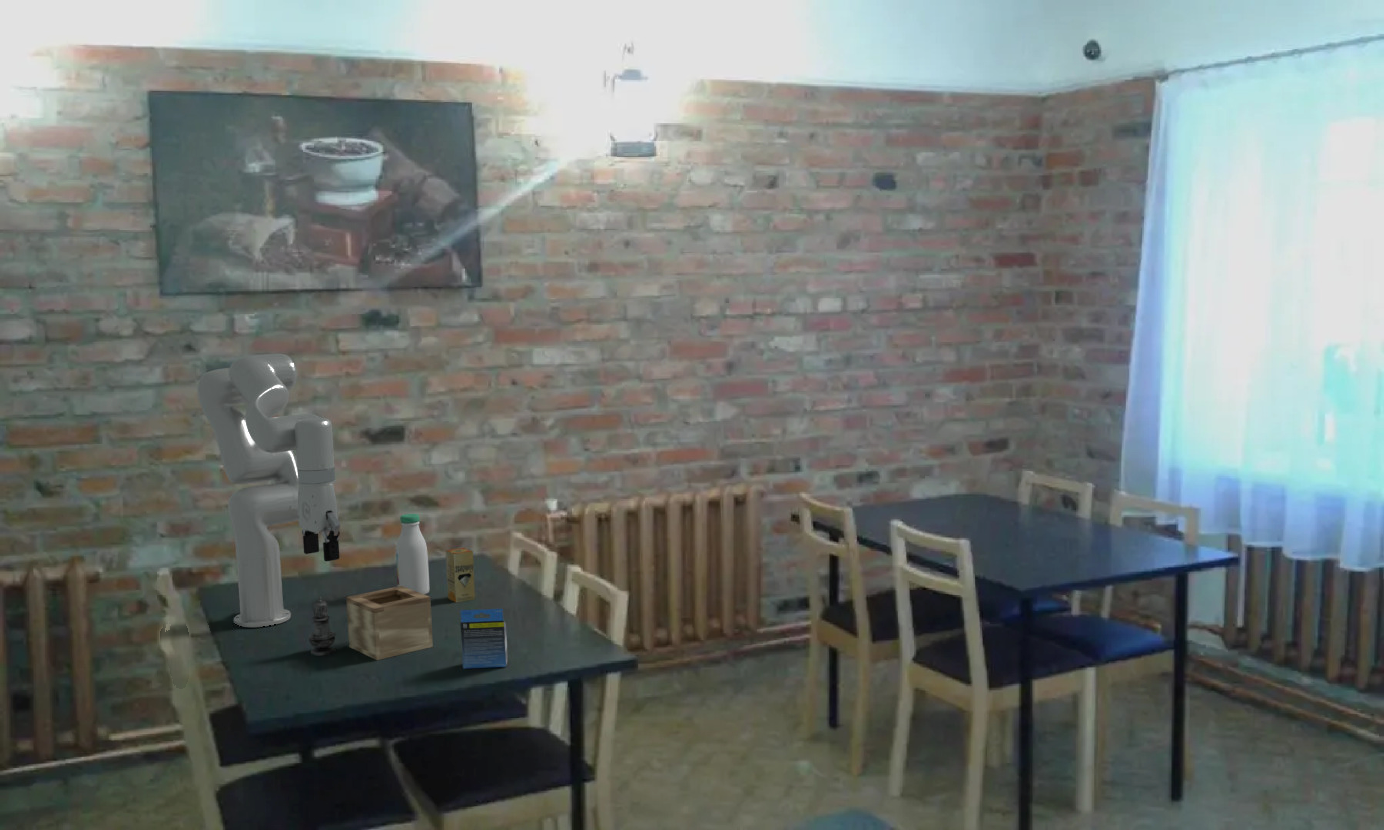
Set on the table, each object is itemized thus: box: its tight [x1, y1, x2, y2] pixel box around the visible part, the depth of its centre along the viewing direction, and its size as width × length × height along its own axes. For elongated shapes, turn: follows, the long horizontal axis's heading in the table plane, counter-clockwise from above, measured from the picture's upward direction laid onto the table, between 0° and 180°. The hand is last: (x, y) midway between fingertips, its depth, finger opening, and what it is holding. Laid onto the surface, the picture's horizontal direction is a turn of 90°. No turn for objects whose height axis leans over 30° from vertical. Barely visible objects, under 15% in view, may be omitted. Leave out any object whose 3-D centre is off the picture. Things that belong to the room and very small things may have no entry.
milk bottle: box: [395, 513, 430, 595], centre depth 310 cm, size 8×8×20 cm
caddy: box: [345, 585, 434, 661], centre depth 266 cm, size 13×13×11 cm
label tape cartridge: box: [459, 607, 508, 670], centre depth 252 cm, size 9×4×12 cm, turn 92°
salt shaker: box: [307, 596, 337, 656], centre depth 264 cm, size 6×6×12 cm
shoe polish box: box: [445, 547, 476, 604], centre depth 304 cm, size 5×5×12 cm
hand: (321, 556), depth 263 cm, fingers open, 9 cm apart
